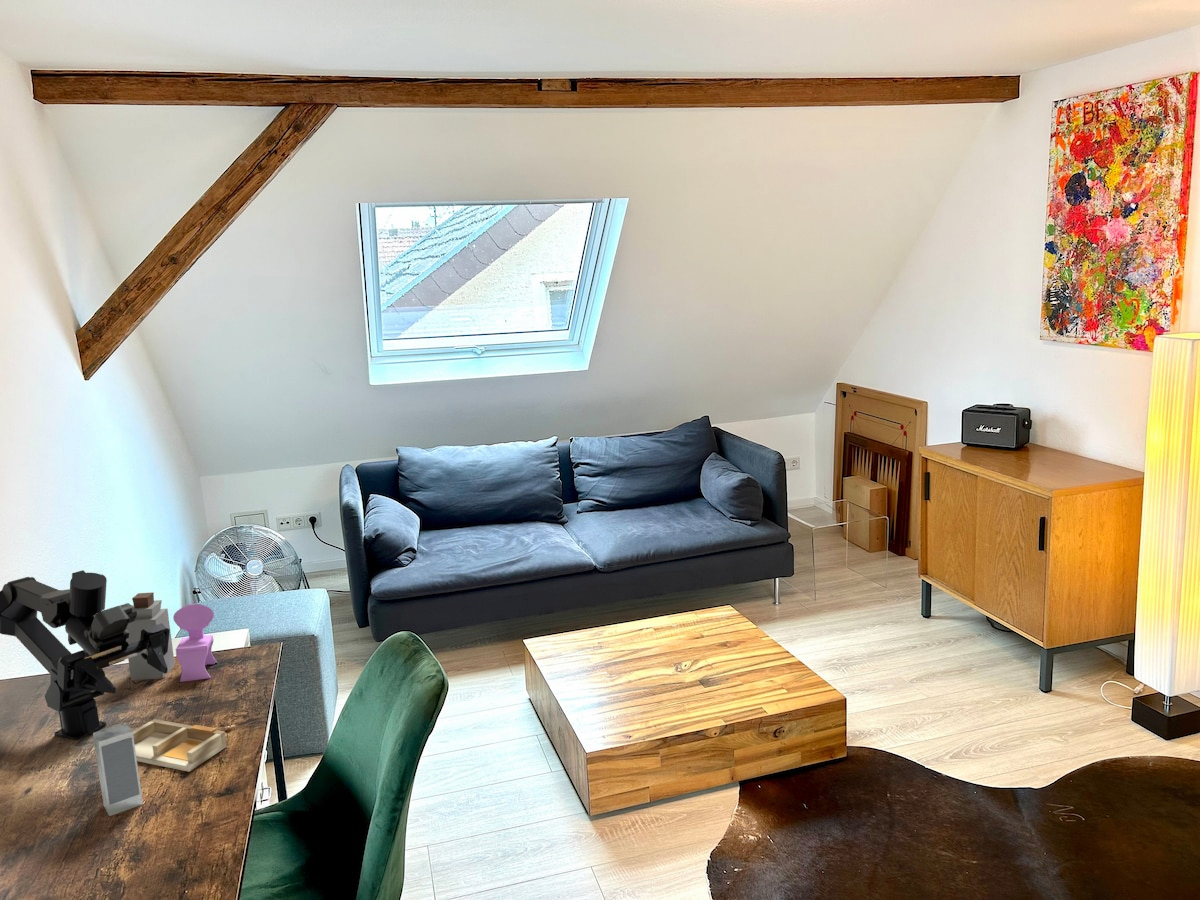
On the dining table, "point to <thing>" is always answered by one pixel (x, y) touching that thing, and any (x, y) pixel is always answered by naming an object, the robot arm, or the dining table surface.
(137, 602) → the perfume bottle
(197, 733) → the cream divided tray
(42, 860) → the dining table surface
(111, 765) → the brushed steel block
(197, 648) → the toy chair
